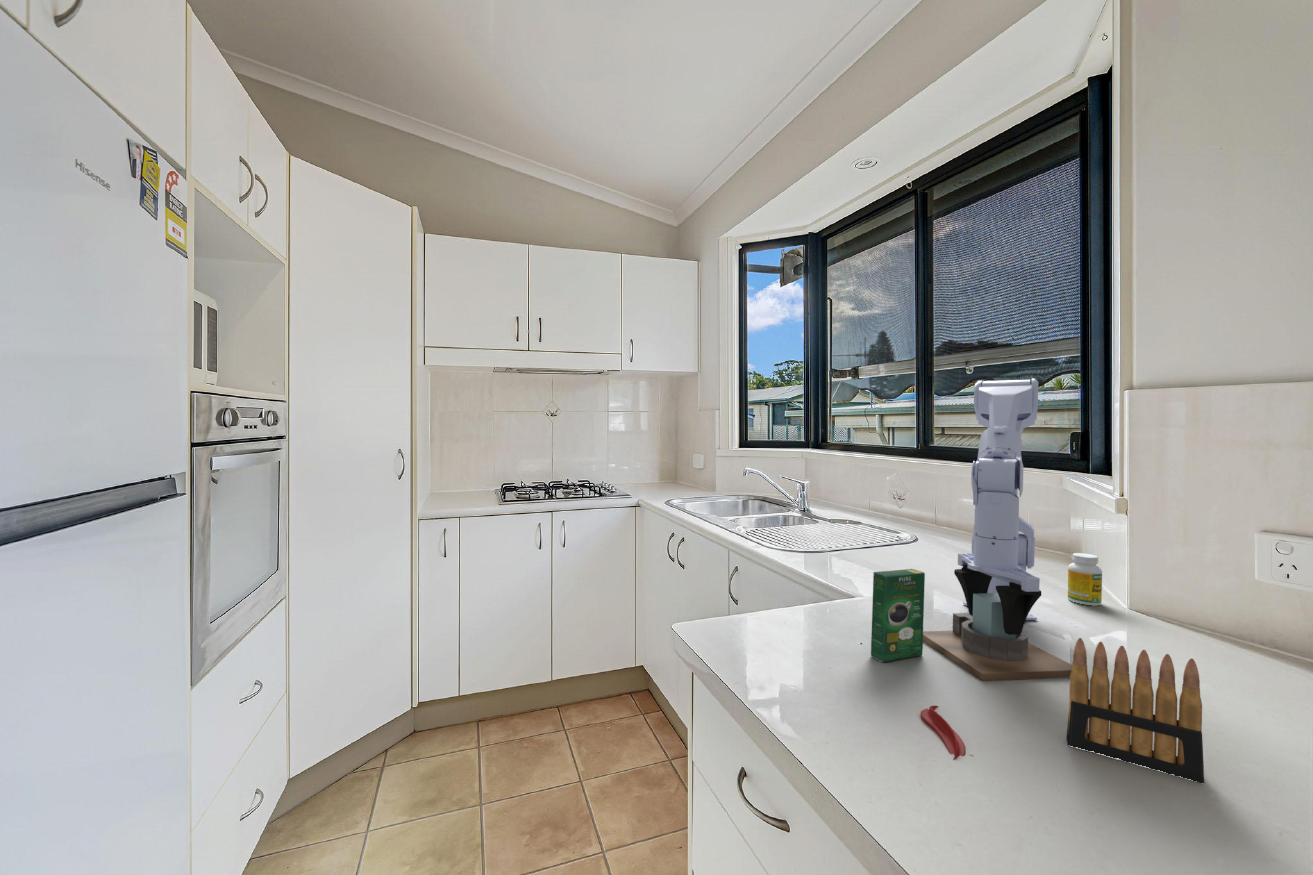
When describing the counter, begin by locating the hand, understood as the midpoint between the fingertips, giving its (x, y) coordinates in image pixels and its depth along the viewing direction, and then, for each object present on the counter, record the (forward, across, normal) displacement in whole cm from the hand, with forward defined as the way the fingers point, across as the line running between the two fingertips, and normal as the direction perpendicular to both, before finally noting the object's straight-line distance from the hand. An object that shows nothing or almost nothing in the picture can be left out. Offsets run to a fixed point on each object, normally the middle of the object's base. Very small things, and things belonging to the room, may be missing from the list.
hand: (993, 623), depth 81 cm
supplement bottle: (+5, -22, +37) cm, 43 cm away
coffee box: (+5, -1, -15) cm, 16 cm away
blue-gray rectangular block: (+4, 0, 0) cm, 4 cm away
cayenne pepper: (+6, +18, -21) cm, 28 cm away
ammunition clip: (+5, +25, -4) cm, 26 cm away
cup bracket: (+5, 0, 0) cm, 5 cm away
